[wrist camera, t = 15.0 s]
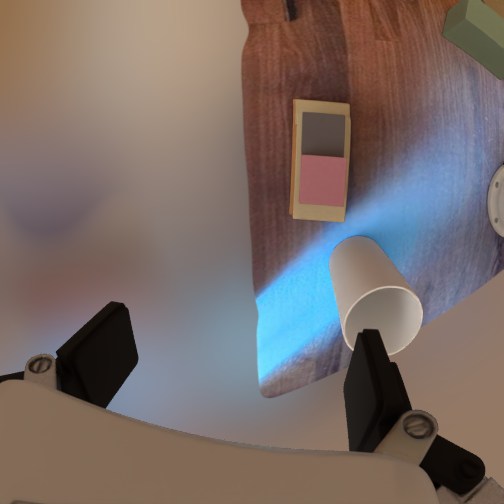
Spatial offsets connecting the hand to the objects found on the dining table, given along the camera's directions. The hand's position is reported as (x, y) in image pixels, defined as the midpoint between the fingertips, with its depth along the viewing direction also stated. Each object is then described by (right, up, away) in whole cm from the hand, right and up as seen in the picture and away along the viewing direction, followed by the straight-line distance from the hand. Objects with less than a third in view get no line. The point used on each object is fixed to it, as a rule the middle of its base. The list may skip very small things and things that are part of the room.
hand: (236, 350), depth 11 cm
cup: (+15, +2, +29) cm, 33 cm away
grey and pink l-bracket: (+8, +14, +20) cm, 26 cm away
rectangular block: (+35, +36, +15) cm, 52 cm away
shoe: (+9, +16, +25) cm, 31 cm away
